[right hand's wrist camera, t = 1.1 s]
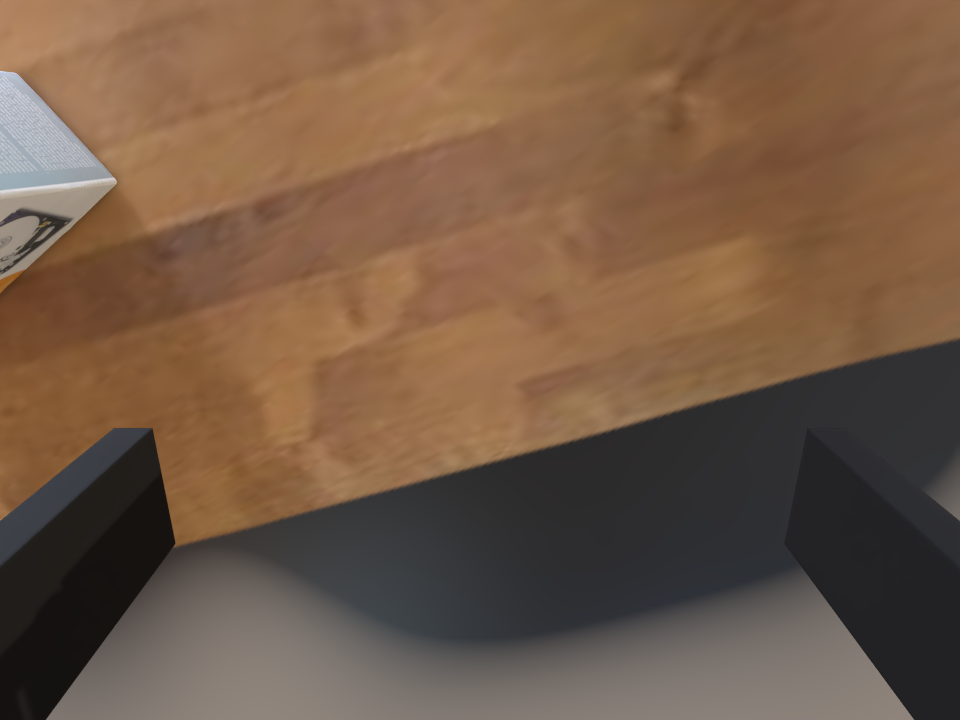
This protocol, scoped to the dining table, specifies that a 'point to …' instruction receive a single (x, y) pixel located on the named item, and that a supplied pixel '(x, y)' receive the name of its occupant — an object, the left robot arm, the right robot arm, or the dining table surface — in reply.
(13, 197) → the hard drive box
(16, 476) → the dining table surface
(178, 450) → the dining table surface
